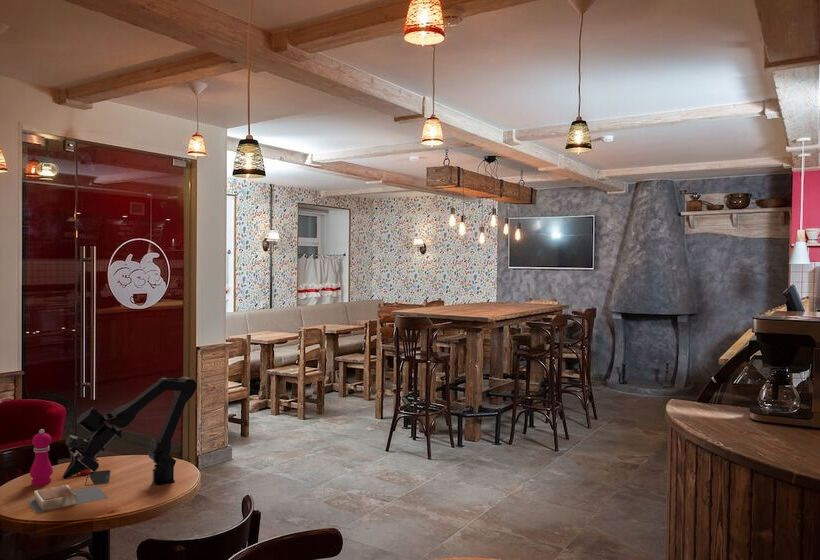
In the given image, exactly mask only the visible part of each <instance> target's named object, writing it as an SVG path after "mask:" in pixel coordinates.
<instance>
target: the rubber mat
mask: <svg viewBox="0 0 820 560" xmlns="http://www.w3.org/2000/svg"><path fill="white" fill-rule="evenodd" d="M72 491H73V492H74V493H75V494H76V504H73V505H68V506H63V507H58V508H53V509H49V510H44V511H42V510H41V509H40V507H39V506H38V504H37V503H36V501H35V500H34V497H33V498H30V499H29V498H28V499H26V502H27V503H28V504H29V507H31V509H32V511H33V512H34V513H35V514H37V513H43V512H48V511H52V510H56V509H61V508H66V507H71V506H75V505H80V504H86V503H91V502H95V501H100V500H104V499H105V500H106V499H108V498H109V497H108V496H107V495H106V494H105V492H104V491H102V490H101V488H100V487H99V486H97V485H93V486H88V487H86V488H80V489H75V490H72Z"/></svg>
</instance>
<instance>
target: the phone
mask: <svg viewBox="0 0 820 560" xmlns="http://www.w3.org/2000/svg"><path fill="white" fill-rule="evenodd" d="M88 477H89V478H90V480H91V482H92V483H93V484H91V486H97V485H98V486H99V485H106V484H109V482H110V477H111V470H109V469H107V470H99V471H97V470H96V471H95V472H94V471H90V472H89V473H88V474H86V480H85V482H84V486H88V487H90V484H87V482H88Z"/></svg>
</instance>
